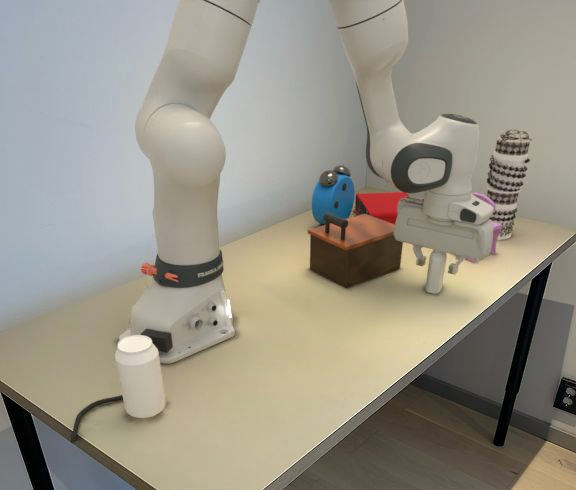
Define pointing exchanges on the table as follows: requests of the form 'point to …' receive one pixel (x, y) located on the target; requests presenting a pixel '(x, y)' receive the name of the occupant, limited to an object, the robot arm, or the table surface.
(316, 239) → the chest
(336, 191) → the alarm clock
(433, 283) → the eye dropper bottle
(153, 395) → the beverage can
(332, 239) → the lid
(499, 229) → the toy chair
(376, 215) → the red device housing
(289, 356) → the table surface
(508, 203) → the decorative candle
